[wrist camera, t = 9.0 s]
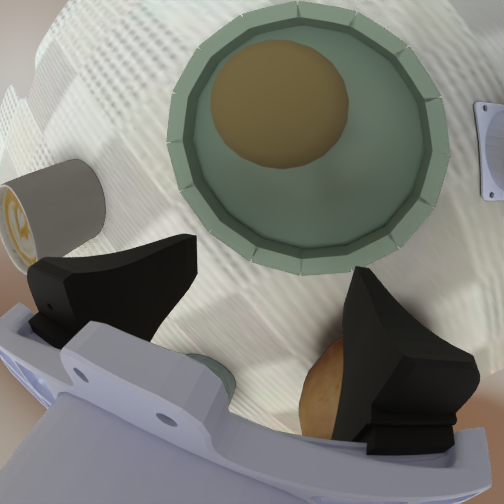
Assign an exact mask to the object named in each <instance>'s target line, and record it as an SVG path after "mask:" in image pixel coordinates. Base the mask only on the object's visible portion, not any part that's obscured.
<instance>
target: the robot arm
mask: <svg viewBox="0 0 504 504" xmlns="http://www.w3.org/2000/svg"><path fill="white" fill-rule="evenodd" d="M483 105H484V107H485V111H484V110H483ZM474 111H475V117H476V124H477V131H478V140H479V151H480V167H481V197H482V199H483V200H485V201H500V200H504V105H503V104H496V103H488V102H475V103H474ZM490 192H492V195H491V197H490V196H489V195H490ZM197 274H198V272H197V236H196V235H190V234H179V235H175V236H172V237H168V238H165V239H162V240H159V241H156V242H153V243H149V244H146V245H143V246H139V247H136V248H132V249H129V250H125V251H121V252H116V253H111V254H104V255H97V256H89V257H67V258H65V257H43V258H41V259H40V260H38V261H37V262H35V263H34V264H32V265H31V266H29V268H28V270H27V280H28V284H29V288H30V290H31V293H32V296H33V298H34V301H35V303H36V306H37V308H38V311H39V312H38V313H37V314H36V315H34V314H33V312H32V311H31V310H30V309H28V308H27V307H26V306H24V305H23V304H22V303H18V304H17V305H15V306H14V307H13V308H12V309H10V310H9V311H8V312H7V313H6V314H4V315H3V316H2V317H1V318H0V357H1V359H2V360H3V362H4V363H5V364H6V366H7V368H8V369H9V371H10V372H11V373H12V374H13V375H14V376H15V377H16V378H17V379H18V380H19V381H20V382H21V383H22V384H23V385H24V386H25V387H26V388H27V390H28V391H29V392H30V393H31V394H33V395H34V397H35V398H36V399H38V400H39V401H40V402H41V403H42V404H43V405H44V406H45V407H46V408H47V409H48V410H47V411H46V412H45V414H44V415H43V416H42V417H41V418H40V420H39V421H38V422H37V423H36V425H35V426H34V427H33V429H32V430H31V431H30V432H29V434H28V435H27V436H26V437H25V439H24V440H23V441H22V442H21V444H20V445H19V446H18V448H17V449H16V450H15V452H14V453H13V454H12V456H11V457H10V458H9V460H8V461H7V462H6V464H5V465H4V466H3V468H2V469H1V471H0V504H460V503H462V502H464V501H466V500H468V499H470V498H472V497H474V496H476V495H478V494H480V493H482V492H483V491H485V490H487V489H489V488H490V487H491V486H492V478H491V468H490V459H489V452H488V446H487V440H486V434H485V429H484V428H483V427H480V428H472V429H464V430H460V431H458V432H455V433H453V427H452V425H455V424H456V422H457V418H456V412H457V411H458V410H459V409H460V408H461V407H462V406H463V405H464V404H465V403H466V402H467V400H468V399H469V398H470V397H471V396H472V395H473V393H474V392H475V391H476V389H477V387H478V384H479V382H480V373H479V370H478V367H477V365H476V362H475V359H474V356H473V355H471V354H469V353H467V352H465V351H463V350H461V349H459V348H457V347H455V346H453V345H451V344H450V343H448V342H446V341H445V340H443V339H441V338H440V337H438V336H437V335H435V334H434V333H432V332H431V331H430V330H428V329H427V328H426V327H424V326H423V325H422V324H421V323H419V322H418V321H417V320H416V319H415V318H414V317H412V316H411V315H410V314H409V313H408V312H407V311H406V310H405V309H404V308H403V307H402V306H401V305H400V304H399V303H398V302H397V301H396V300H395V299H394V297H393V296H392V295H391V294H390V293H389V292H388V291H387V289H386V288H385V287H384V286H383V284H382V283H381V282H380V281H379V279H378V278H377V277H376V276H375V274H374V273H373V272H372V271H371V270H370V269H369V268H365V267H360V266H355V269H354V273H353V277H352V280H351V283H350V287H349V290H348V293H347V297H346V300H345V303H344V310H343V322H342V328H343V376H342V384H341V391H340V398H339V404H338V409H337V414H336V419H335V424H334V429H333V433H332V437H331V440H328V439H321V438H314V437H307V436H301V435H296V434H290V433H285V432H280V431H276V430H272V429H270V428H267V427H265V426H262V425H260V424H257V423H255V422H253V421H250V420H248V419H246V418H243V417H241V416H239V415H237V414H234V413H232V412H230V411H229V409H228V394H227V392H226V389H225V387H224V385H223V382H222V381H221V379H220V378H219V377H218V376H216V375H215V374H214V373H213V372H212V371H211V370H210V369H209V368H208V367H207V366H205V365H204V364H202V363H200V362H198V361H196V360H194V359H192V358H190V357H188V356H186V355H183V354H181V353H178V352H175V351H172V350H169V349H166V348H164V347H161V346H158V345H156V344H153V343H151V342H150V341H151V339H152V338H153V336H154V334H155V333H156V331H157V329H158V328H159V326H160V325H161V323H162V322H163V321H164V319H165V318H166V317H167V316H168V314H169V313H170V312H171V311H172V309H173V308H174V307H175V306H176V304H177V303H178V302H179V301H180V299H181V298H182V297H183V296H184V294H185V293H186V292H187V291H188V289H189V288H190V286H191V284H192V283H193V281H194V279H195V277H196V275H197Z"/></svg>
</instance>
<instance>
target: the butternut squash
mask: <svg viewBox="0 0 504 504" xmlns="http://www.w3.org/2000/svg"><path fill="white" fill-rule="evenodd" d="M342 376H343V336H342V337H340V338H339V339H338V340H336V341H335V342H333V343H332V344H331V345H330V346H329V348H328V349H327V350H326V351H325V352H324V354H323V355H322V356H321V357H320V358H319V359H318V360H317V361H316V363H315V364H314V365H313V366H312V368H311V369H310V370H309V372H308V374H307V376H306V379H305V382H304V385H303V390H302V394H301V398H300V402H299V419H300V425H301V430H302V436H307V437H314V438H321V439H328V440H331V437H332V433H333V429H334V424H335V419H336V414H337V409H338V404H339V398H340V391H341V384H342Z"/></svg>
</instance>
